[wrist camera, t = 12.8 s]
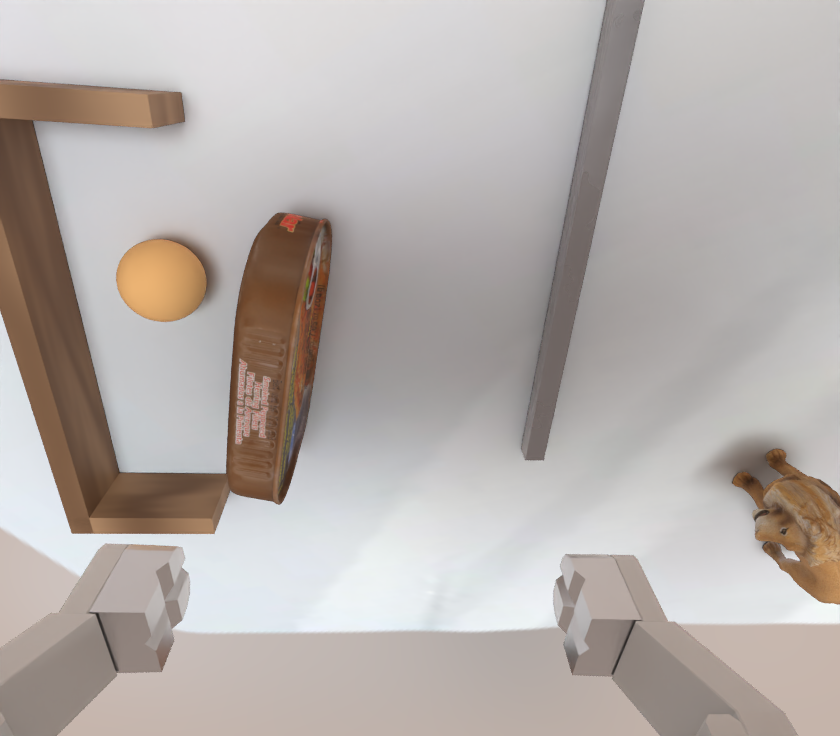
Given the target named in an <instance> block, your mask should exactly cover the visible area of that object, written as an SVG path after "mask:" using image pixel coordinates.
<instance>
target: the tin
mask: <svg viewBox="0 0 840 736" xmlns="http://www.w3.org/2000/svg"><path fill="white" fill-rule="evenodd" d="M331 245H332V234H331V225H330V222H329V221H328V220H327V219H322V220H318V219H313V218H308V217H303V216H299V215H295V214H289V213H277V214H275V215H274V216H273V217H272V218H271V219H270V220H269V221H268V223H267V224H266V225H265V226H264V227H263V228H262V229H261V230H260V232H259V233H258V235H257V236H256V238H255V240H254V243H253V245H252V248H251V250H250V253H249V256H248V260H247V263H246V266H245V270H244V274H243V278H242V282H241V287H240V292H239V298H238V304H237V311H236V318H235V328H234V342H233V354H232V368H231V384H230V401H229V418H228V437H227V460H226V475H227V482H228V486H229V488H230V490H231V491H232V492H233V493H235V494H237V495H240V496H245V497H250V498H256V499H261V500H267V501H273V502H275V503H276V504H278V505H280V504H281V503H282V502H283V500H284V498H285V496H286V494H287V491H288V489H289V486H290V483H291V479H292V477H293V473H294V469H295V466H296V462H297V458H298V454H299V450H300V446H301V442H302V439H303V435H304V431H305V427H306V422H307V417H308V411H309V406H310V398H311V394H312V388H313V381H314V374H315V368H316V360H317V353H318V346H319V339H320V332H321V326H322V319H323V312H324V306H325V299H326V291H327V284H328V277H329V269H330V258H331Z"/></svg>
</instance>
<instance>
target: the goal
mask: <svg viewBox="0 0 840 736" xmlns="http://www.w3.org/2000/svg"><path fill="white" fill-rule="evenodd" d="M32 120H37V121H53V122H68V123H83V124H98V125H113V126H128V127H143V128H156V127H161V126H166V125H170V124H175V123H180V122H185V118H184V111H183V103H182V95H181V93H180V92H167V91H153V90H139V89H125V88H111V87H98V86H84V85H70V84H56V83H42V82H29V81H15V80H1V79H0V311H1V314H2V317H3V320H4V323H5V327H6V330H7V333H8V336H9V339H10V342H11V345H12V348H13V351H14V355H15V358H16V361H17V364H18V367H19V370H20V373H21V376H22V379H23V383H24V386H25V389H26V392H27V395H28V398H29V401H30V404H31V408H32V411H33V414H34V417H35V420H36V423H37V426H38V429H39V432H40V436H41V439H42V442H43V445H44V448H45V451H46V454H47V457H48V460H49V464H50V467H51V470H52V473H53V476H54V479H55V482H56V485H57V488H58V492H59V495H60V498H61V501H62V504H63V507H64V510H65V513H66V516H67V520H68V523H69V526H70V529H71V532H72V534H214V533H215V531H216V528H217V525H218V523H219V520H220V517H221V514H222V512H223V509H224V506H225V503H226V501H227V498H228V495H229V493H230V488H229V486H228V482H227V475H226V474H177V473H119V469H118V465H117V461H116V457H115V453H114V449H113V445H112V441H111V437H110V433H109V429H108V425H107V421H106V417H105V413H104V409H103V405H102V401H101V397H100V393H99V389H98V385H97V380H96V376H95V372H94V368H93V364H92V360H91V356H90V352H89V348H88V344H87V340H86V336H85V332H84V328H83V324H82V320H81V316H80V312H79V308H78V304H77V300H76V296H75V291H74V287H73V283H72V279H71V275H70V271H69V267H68V263H67V259H66V255H65V251H64V247H63V243H62V239H61V235H60V231H59V227H58V223H57V219H56V215H55V211H54V207H53V202H52V198H51V194H50V190H49V186H48V182H47V178H46V174H45V170H44V166H43V162H42V158H41V154H40V150H39V146H38V142H37V138H36V134H35V130H34V126H33V122H32Z"/></svg>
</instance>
